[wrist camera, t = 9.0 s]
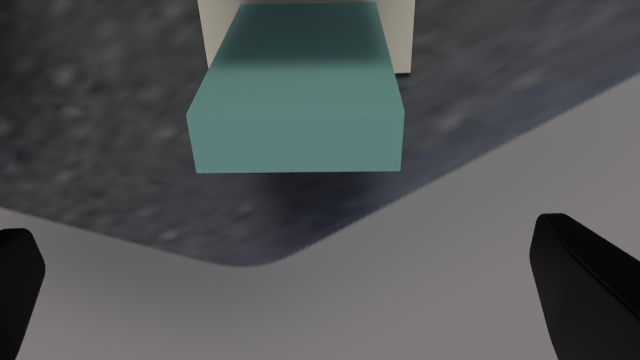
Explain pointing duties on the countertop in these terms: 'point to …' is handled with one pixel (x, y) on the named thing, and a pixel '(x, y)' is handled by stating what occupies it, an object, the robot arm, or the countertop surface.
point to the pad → (392, 3)
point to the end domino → (299, 93)
